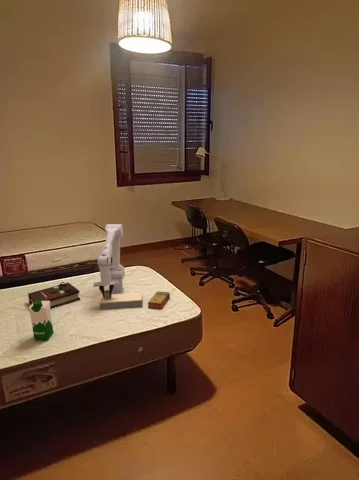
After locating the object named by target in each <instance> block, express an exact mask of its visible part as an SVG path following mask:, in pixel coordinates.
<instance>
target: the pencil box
mask: <svg viewBox="0 0 359 480" xmlns="http://www.w3.org/2000/svg"><path fill="white" fill-rule="evenodd" d="M143 299H144V298H143V297H142V301H131V302H115V303H100V302H99V305H100V310H115V309H116V310H117V309H130V308H142V307H143V305H144V303H143Z"/></svg>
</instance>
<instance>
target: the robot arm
mask: <svg viewBox="0 0 359 480" xmlns="http://www.w3.org/2000/svg"><path fill="white" fill-rule="evenodd" d="M104 232H105V235H106V238H105V244H104V245H102V248H101V251H100V255H99V256H98V257H97V261H96V263H97V266H98V269H99V272H100V273H99V275H100V276H99V277H100V281H99V282H98V281H97V282H93V285H92V286H93V288H96V287H98V290H99V291H100V292H101V296H102V295H103V298H105V297H104V291H105V287H108V290H109V291H110V298H111V295H113V294H125V287H124V286H123V280H124V278H125V275H126V274H125V267H124V266H123V265H122V264H121V261H120V260H121V238H123V237H124V227H123V224H121V223H120V224H117V223H116V224H113V223H111V224H109V223H107V224H105V228H104Z"/></svg>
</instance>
